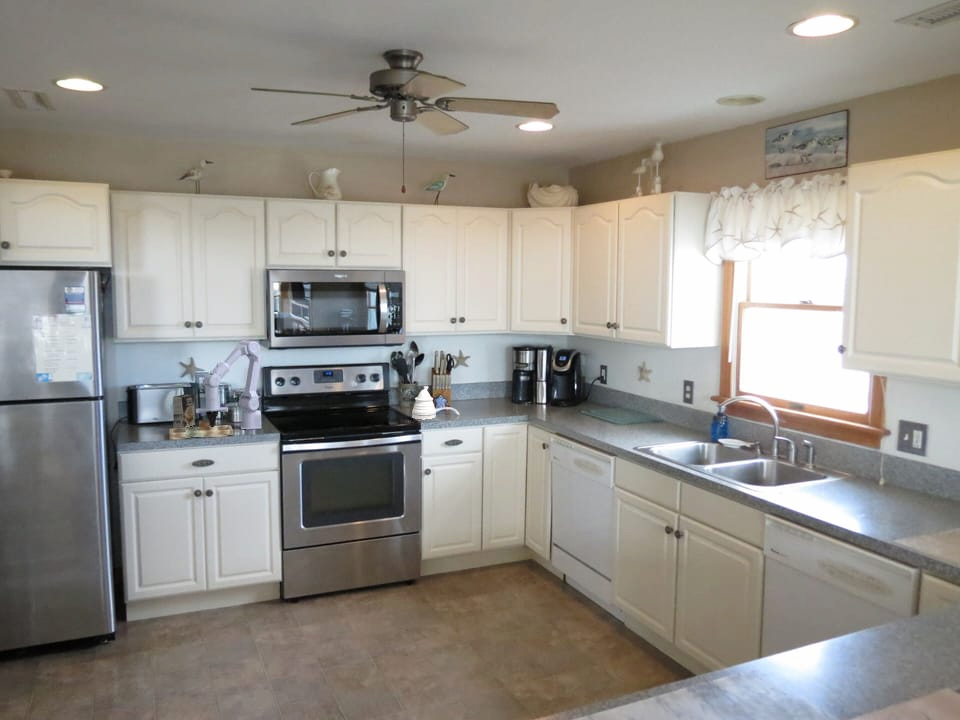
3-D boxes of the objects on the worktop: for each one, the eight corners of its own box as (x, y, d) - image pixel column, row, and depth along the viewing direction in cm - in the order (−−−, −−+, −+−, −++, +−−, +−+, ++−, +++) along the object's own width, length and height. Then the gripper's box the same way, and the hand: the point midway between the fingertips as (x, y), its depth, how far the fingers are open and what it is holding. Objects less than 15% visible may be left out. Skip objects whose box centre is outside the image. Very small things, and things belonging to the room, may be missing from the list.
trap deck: (230, 430, 366) (230, 425, 365) (233, 435, 353) (233, 430, 353) (169, 433, 355) (169, 428, 354) (169, 439, 342) (169, 434, 342)
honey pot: (419, 416, 411) (419, 384, 409) (439, 418, 405) (440, 386, 403) (407, 420, 399) (408, 387, 397) (428, 422, 394) (429, 389, 392)
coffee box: (184, 429, 365) (184, 397, 363) (173, 428, 366) (172, 396, 365) (195, 425, 374) (194, 394, 372) (184, 425, 375) (183, 393, 373)
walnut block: (208, 428, 357) (208, 420, 356) (209, 430, 353) (209, 421, 352) (199, 428, 355) (198, 420, 355) (199, 430, 351) (199, 422, 351)
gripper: (196, 401, 347) (196, 429, 349) (228, 399, 353) (228, 427, 355) (195, 398, 354) (196, 426, 355) (227, 397, 360) (227, 424, 361)
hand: (212, 427), depth 355 cm, fingers closed
